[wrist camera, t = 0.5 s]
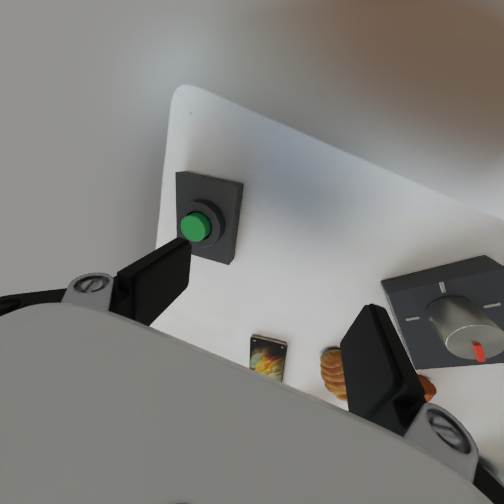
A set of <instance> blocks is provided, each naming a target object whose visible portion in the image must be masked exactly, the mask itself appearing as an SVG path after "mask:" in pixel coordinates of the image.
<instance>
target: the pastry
mask: <svg viewBox="0 0 504 504" xmlns="http://www.w3.org/2000/svg"><path fill="white" fill-rule="evenodd" d="M320 367H321V375H322V378H323V380H324V381H325V386H326V388H327V389H328V390H329V391H330V392H332V393H333V394H334V395H335V396H336V397H337V398H338V399H340V400H343V401H347V394H346V387H345V380H344V373H343V366H342V359H341V352H340V350H338V349H335V350H328V351H326V352H324V354H323V355H322V356H321V364H320Z"/></svg>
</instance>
